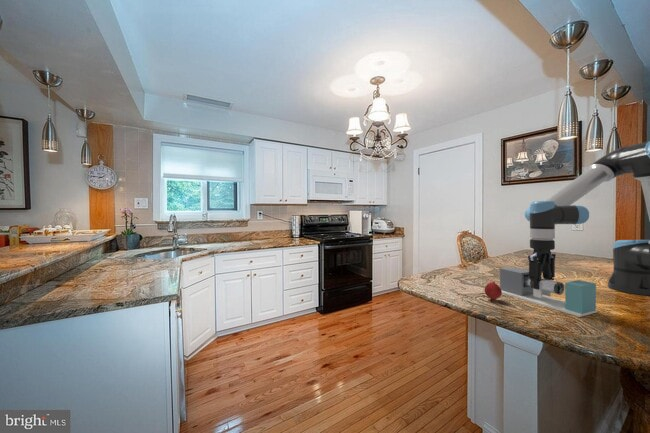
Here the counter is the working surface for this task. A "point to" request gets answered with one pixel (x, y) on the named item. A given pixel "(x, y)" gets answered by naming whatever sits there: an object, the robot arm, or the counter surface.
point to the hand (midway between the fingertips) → (542, 296)
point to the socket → (580, 296)
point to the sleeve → (514, 281)
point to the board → (548, 303)
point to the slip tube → (546, 285)
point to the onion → (493, 290)
